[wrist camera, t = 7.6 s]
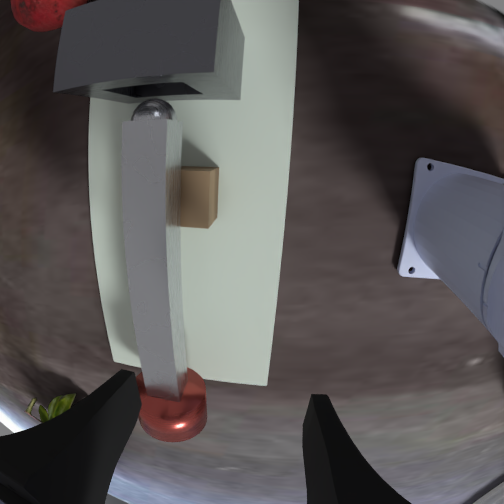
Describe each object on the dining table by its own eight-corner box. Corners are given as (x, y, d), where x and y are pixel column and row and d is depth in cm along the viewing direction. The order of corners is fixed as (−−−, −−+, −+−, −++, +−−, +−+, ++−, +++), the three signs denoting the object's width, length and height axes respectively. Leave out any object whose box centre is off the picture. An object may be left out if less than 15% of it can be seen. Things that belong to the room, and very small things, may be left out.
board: (297, 5, 14) (298, -1, 13) (267, 377, 24) (266, 385, 23) (107, 19, 15) (100, 15, 14) (118, 354, 24) (114, 361, 24)
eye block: (244, 37, 15) (223, -21, 8) (240, 100, 16) (214, 72, 9) (133, 45, 15) (65, 10, 8) (128, 103, 16) (53, 92, 10)
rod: (217, 103, 15) (191, 87, 10) (212, 404, 22) (200, 454, 17) (131, 106, 15) (81, 99, 10) (152, 393, 22) (131, 438, 18)
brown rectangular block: (219, 167, 17) (210, 171, 15) (217, 217, 19) (208, 228, 16) (140, 165, 18) (121, 170, 15) (140, 212, 19) (123, 222, 16)
